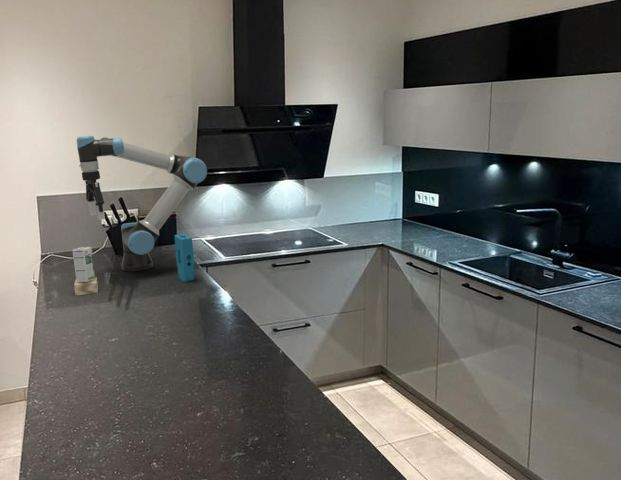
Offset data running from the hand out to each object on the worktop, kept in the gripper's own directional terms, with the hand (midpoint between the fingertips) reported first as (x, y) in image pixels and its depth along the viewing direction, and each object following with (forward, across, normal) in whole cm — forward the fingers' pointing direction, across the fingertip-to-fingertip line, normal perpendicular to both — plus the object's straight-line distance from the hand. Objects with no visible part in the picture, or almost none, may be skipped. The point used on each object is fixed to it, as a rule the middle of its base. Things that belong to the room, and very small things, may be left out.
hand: (97, 217), depth 265 cm
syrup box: (+25, +14, -13) cm, 31 cm away
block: (+31, +24, +29) cm, 49 cm away
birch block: (+30, +14, -13) cm, 35 cm away
